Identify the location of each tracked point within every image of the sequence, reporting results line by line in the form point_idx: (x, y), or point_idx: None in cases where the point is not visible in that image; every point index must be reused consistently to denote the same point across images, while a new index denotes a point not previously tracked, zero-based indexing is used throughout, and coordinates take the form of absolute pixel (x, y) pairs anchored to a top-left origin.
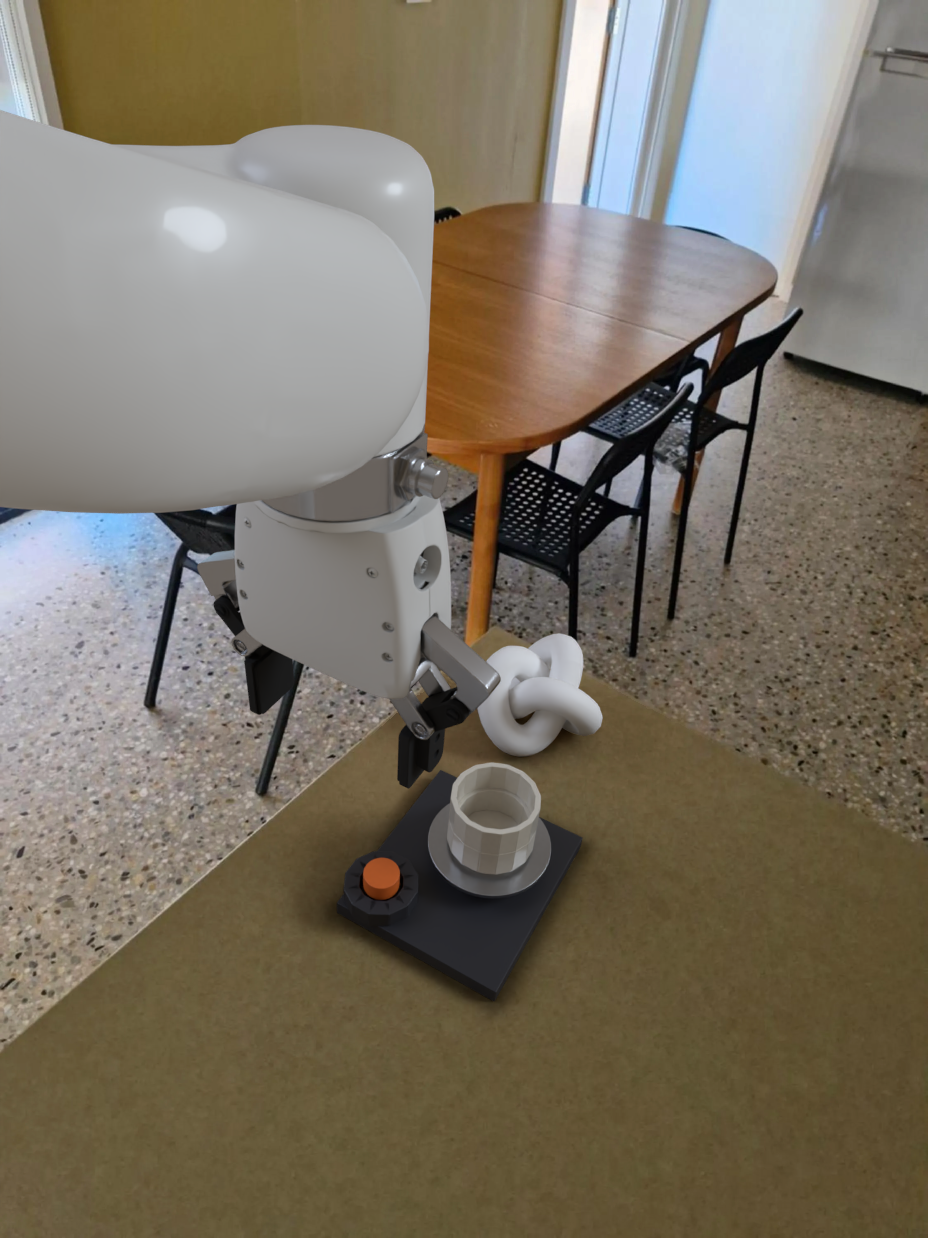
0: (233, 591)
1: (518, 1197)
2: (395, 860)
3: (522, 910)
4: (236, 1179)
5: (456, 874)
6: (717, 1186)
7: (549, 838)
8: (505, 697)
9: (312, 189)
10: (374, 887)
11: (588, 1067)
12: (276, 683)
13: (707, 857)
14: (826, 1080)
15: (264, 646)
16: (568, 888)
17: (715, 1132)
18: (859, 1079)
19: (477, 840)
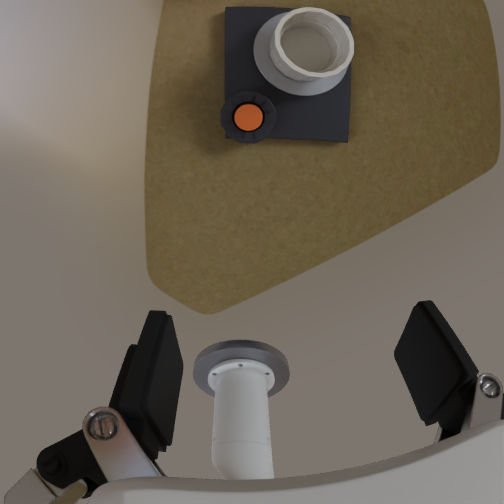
0: (70, 501)
1: (383, 220)
2: (247, 96)
3: (340, 83)
4: (269, 271)
5: (295, 87)
6: (449, 179)
7: None
8: None
9: None
10: (250, 130)
11: (397, 153)
12: (171, 370)
13: (412, 8)
14: (478, 119)
15: (154, 452)
16: None
17: (447, 158)
18: (486, 114)
19: (316, 78)
